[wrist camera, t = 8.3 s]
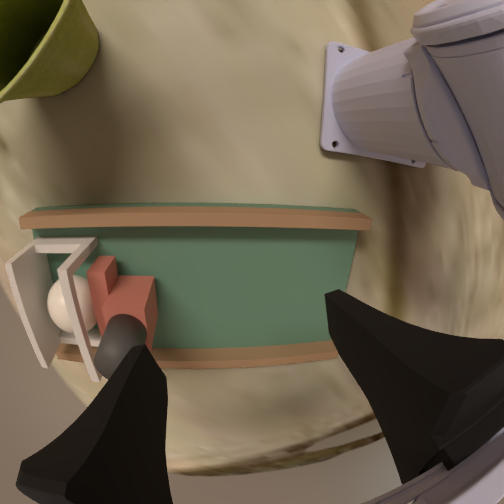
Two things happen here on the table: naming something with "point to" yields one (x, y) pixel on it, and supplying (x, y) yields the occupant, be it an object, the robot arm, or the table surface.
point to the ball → (59, 308)
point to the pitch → (220, 274)
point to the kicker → (120, 312)
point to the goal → (36, 295)
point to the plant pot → (44, 47)
